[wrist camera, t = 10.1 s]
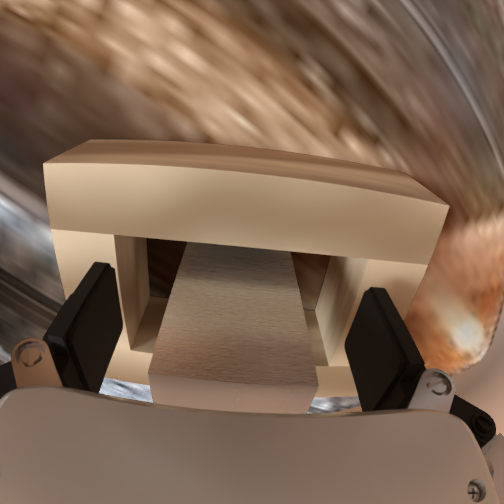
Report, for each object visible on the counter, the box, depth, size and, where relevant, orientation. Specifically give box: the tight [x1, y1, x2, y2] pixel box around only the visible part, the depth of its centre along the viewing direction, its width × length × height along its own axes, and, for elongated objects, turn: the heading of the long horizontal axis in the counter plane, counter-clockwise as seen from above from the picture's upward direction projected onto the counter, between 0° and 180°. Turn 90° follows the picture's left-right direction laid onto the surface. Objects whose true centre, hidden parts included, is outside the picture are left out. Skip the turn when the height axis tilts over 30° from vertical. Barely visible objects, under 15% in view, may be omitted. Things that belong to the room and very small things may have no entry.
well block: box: [43, 140, 449, 397], centre depth 15 cm, size 12×16×4 cm
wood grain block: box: [148, 242, 319, 414], centre depth 13 cm, size 4×4×10 cm
